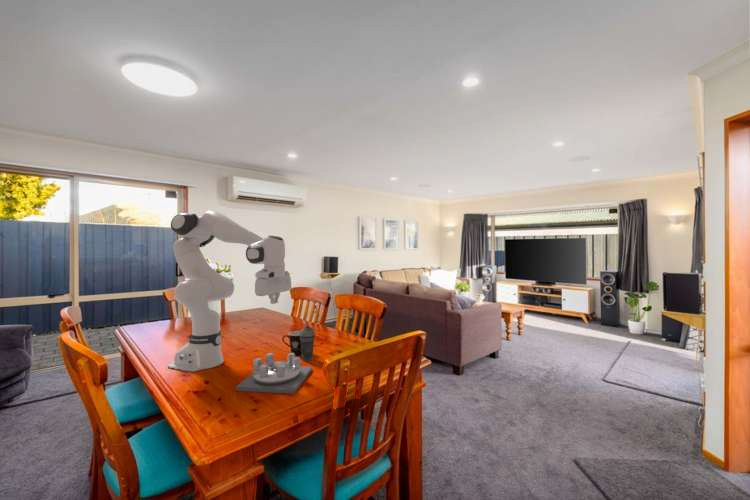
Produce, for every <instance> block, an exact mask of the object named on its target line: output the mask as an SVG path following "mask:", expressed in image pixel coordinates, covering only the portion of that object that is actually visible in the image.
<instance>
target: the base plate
mask: <svg viewBox="0 0 750 500" xmlns="http://www.w3.org/2000/svg"><path fill="white" fill-rule="evenodd" d="M312 370H313V367H312V366H304V365H303V366H301V368H300V375H299V377H298V378H296V379H295V380H293V381H291V382H288V383H284V384H280V385H261V384H257V383H256V382H254V381H253V372H252V373H251V374H250V375H248V376H247V377H246V378H244V380H242V381H241V382H240V383H239V384H238V385H236V387H235V391H237V392H238V391H239V392H251V393H253V392H254V393H271V394H274V393H275V394H287V395H288V394H290V395H291V394H293V395H294V394H295V392H297V391H298V389H299V388H300V386H301V385H302V384H303V383H304V381H306V379H307V377H308V376H309V375H310V374H311V372H312Z"/></svg>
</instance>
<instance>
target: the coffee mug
mask: <svg viewBox="0 0 750 500" xmlns="http://www.w3.org/2000/svg"><path fill="white" fill-rule="evenodd" d="M300 332H301V330H297V331H296V330H295V331H291V332H289V333H288V335H287V334H286V335H283V336H282V339H281V340H282V342H283V344H284V345H286V346H287V347H289V348H290V353H294V354H295V356H302V350H301V341H300V337H299V335H300ZM285 337H287V338H288V339H289V344H288V343H287V342H286V341H285V339H284V338H285Z"/></svg>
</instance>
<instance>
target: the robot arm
mask: <svg viewBox="0 0 750 500" xmlns="http://www.w3.org/2000/svg"><path fill="white" fill-rule="evenodd" d="M170 228H171V230H172V231H173V232H174V233H175V234H177V235H178V236H181V238H178V239H177V240H176V241H174V243H173V246H172V252H173V254H174V258H175V261H176V262H177V265H178V266H179V269H180V272H181V273H182V276H184V277H185V278H186V279H188V280H185V281H181V282H178V284H176V286H175V288H174V291H173V295H174V298H175V300H176V302H177V303H179V305H182V307H184V308H186V310H187V311H188V312H189V313H188V314H189V315H190V318H191V329H192V333H190V334H189V335H187V336H186V337H187V338H186V340H188V341H187V342H186V343H185V345H183V346H182V347H180V348H179V349H178V350H177V351H176V352H175V355H174V360H172V361H170V362H169V363H168V366H167V368H168V367H169V368H168V369H172V368H174V370H179V369H180V370H179V371H187V372H197V371H200V370H205V369H211V368H215V367H217V366H220V365H221V364H223V363H224V357H223V353H222V352H223V351H222V348H221V344H222V340H221V339H222V334H221V333H222V332H221V327H220V326H221V325H220V324H221V323H220V322H221V319H220V318H221V317H220V314H219V313H218V312H217V311H215V310H213V309H211V308H210V307H209V303H211V302H217V301H218V302H219V301H223V300H225V299H228V298H231V296H232V295H233V294H234V292H235V284H234V282H233V280H232V279H231V278H229V277H226V276H224V275H222V274H220V273H218V272H217V271H216V270H215V269H213V267H211V266H210V264H209V263H208V261H207V260H206V258H205V257H204V254H203V253H202V251H201V249H200V248H204V247H206V245H208V244H210V243H211V242H213V240H214V239H217V240H219V241H222V242H224V243H228V244H241V245H245V246H247V248H246V249H245V258H246V260H247V261H248V262H249V263H250V264H253V265H263V268H262V269H260V270H258V271H257V272H255V274H254V276H255V278H256V279H255V282H254V294H255V295H256V296H257V297H265V296H268V298H269V300H270V304H272V305H275V304H278V303H279V298H280V296H281V293H285V292H289V291H291V289H292V278H291V276H290V275H291V273H290V272H289V271H288V270H286V264H285V257H286V245H285V241H284V239H283V238H282V237H280V236H276V235H266V236H265V237H264V238H263V237H261V236H259V235H257V234H256V233H254V232H252V231H250V230H248V229H247V228H245V227H243V226H241V225H240V224H238V223H237V222H235V221H234V220H232V219H231V218H229V217H228V216H226V215H225V214H222V213H220V212H218V211H215V210H208V211H206V212H204V213H203V214H202V215H201V216H198V215H197V214H196V213H185V212H183V213H182V212H181V213H177V214H175V216H173V218H172V219H171V222H170Z"/></svg>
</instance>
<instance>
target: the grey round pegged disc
mask: <svg viewBox="0 0 750 500" xmlns="http://www.w3.org/2000/svg"><path fill="white" fill-rule="evenodd" d="M286 358H287V361H285V360H280V361H279V360H278V361H275V354H274V353H271V352H269V353H266V354H265V361H264V364H263V358H261V357H257V358H254V359H253V361H252V362H253V364H252V365H253V370H252V373H253V381H254V382H256V383H257V384H261V385H280V384H284V383H288V382H291V381H293V380H295V379H296V378H298V377H299V375H300V368H301V363H302V362H301V361H302V359H301V358H300V357H299V356H296V355H295V354H294V353H291V352H290V353H287V357H286Z"/></svg>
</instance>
